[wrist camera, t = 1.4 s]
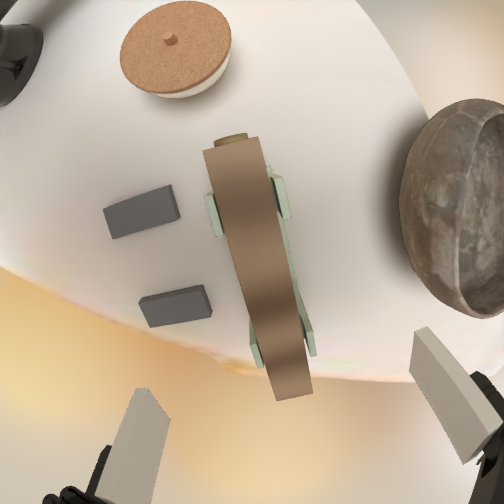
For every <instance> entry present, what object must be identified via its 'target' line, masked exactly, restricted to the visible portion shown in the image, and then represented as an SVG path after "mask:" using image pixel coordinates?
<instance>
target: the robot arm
mask: <svg viewBox="0 0 504 504" xmlns="http://www.w3.org/2000/svg"><path fill="white" fill-rule="evenodd" d="M17 1H18V0H0V21H1V20H2V19H3V18H4V16H5V15H6V14H7V13H8V11H9V10H10V9H11V8H12V7H13V5H14V4H15V3H16V2H17ZM42 42H43V36H42V32H41V30H40V29H39V28H38V27H36V26H33V25H31V24H21V25H1V24H0V106H4V105H6V104H8V103H9V102H11V101H12V100H13V99H14V98H15V97H16V96H17V95H18V94H19V92H20V91H21V90H22V89H23V87H24V86H25V84H26V83H27V81H28V79H29V78H30V76H31V74H32V72H33V70H34V68H35V66H36V63H37V61H38V58H39V55H40V52H41V48H42ZM409 372H410V373H411V375H412V376H413V378H414V379H415V381H416V383H417V384H418V386H419V387H420V389H421V391H422V392H423V394H424V396H425V397H426V399H427V401H428V402H429V404H430V406H431V407H432V409H433V410H434V412H435V414H436V416H437V418H438V419H439V421H440V423H441V424H442V426H443V428H444V430H445V432H446V433H447V435H448V437H449V439H450V440H451V442H452V444H453V446H454V448H455V450H456V452H457V454H458V456H459V458H460V460H461V461H462V463H463V465H464V464H465V463H467V462H469V461H470V460H472V459H473V458H474V457H476V456H477V455H478V454H479V453H480V452H481V451H482V450H483V452H484V454H483V455H482V456H481V458H480V459H479V460H478V462H477V464H476V465H478V464H479V463H480V462H481V461H482V462H481V466H480V470H479V474H478V477H477V480H476V483H475V486H474V489H473V492H472V495H471V498H470V501H469V503H468V504H504V398H503V397H502V395H501V394H500V393H499V392H498V391H497V390H496V388H495V387H494V385H492V383H491V382H490V380H489V379H488V378H487V377H486V376H485V375H483V374H482V373H480V372H478V371H476V372H474V373H473V374H471V375H468V374H467V372H466V371H465V370H464V369H463V367H462V366H461V365H460V364H459V362H458V361H457V360H456V359H455V358H454V356H453V355H452V354H451V353H450V352H449V351H448V349H447V348H446V347H445V346H444V345H443V344H442V342H441V341H440V340H439V339H438V338H437V337H436V336H435V334H434V333H433V332H432V331H431V330H430V329H429V328H428V327H424V328H422V329H419V330H417V331H414V340H413V348H412V355H411V361H410V368H409ZM169 424H170V418H169V417H168V415H167V414H166V413H165V411H164V410H163V409H162V407H161V406H160V405H159V403H158V402H157V400H156V399H155V397H154V396H153V394H152V393H151V391H150V390H149V389H148V388H136V389H135V392H134V394H133V396H132V398H131V401H130V403H129V406H128V408H127V410H126V413H125V415H124V418H123V420H122V422H121V425H120V427H119V430H118V432H117V435H116V438H115V440H114V443H113V445H112V446H110V445H107V446H106V447H105V448H104V449H103V451H102V452H101V453H100V456H99V459H98V462H97V464H96V466H95V469H94V472H93V474H92V477H91V480H90V482H89V485H88V488H87V490H86V492H85V493H83V492H81V491H80V490H79V489H77V488H76V487H73V486H67V487H65V488H64V489H63V490H62V491H61V492H60V496H59V497H58V496H56V495H55V494H48V495H46V496H45V497H44V499H43V502H42V504H151V500H152V496H153V491H154V487H155V482H156V478H157V473H158V469H159V465H160V461H161V457H162V453H163V448H164V444H165V440H166V437H167V433H168V429H169Z"/></svg>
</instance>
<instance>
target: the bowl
mask: <svg viewBox="0 0 504 504" xmlns="http://www.w3.org/2000/svg"><path fill="white" fill-rule="evenodd" d="M399 210H400V219H401V227H402V231H403V238H404V243H405V247H406V250H407V252H408V255H409V257H410V260H411V266H412V269H413V270H414V271H415V272H416V273H417V274H418V276H419V277H420V279H421V280H422V282H423V283H424V284H425V286H426V287H427V288H428V290H429V291H430V292H431V293H432V294H433V295H434V296H435V297H436V298H437V299H438V300H440V301H441V302H443V303H444V304H446V305H448V306H450V307H452V308H453V309H455V310H457V311H459V312H462V313H464V314H466V315H469V316H471V317H475V318H480V319H486V318H491V317H494V316H496V315H498V314H500V313H502V312H504V105H502V104H500V103H497V102H494V101H490V100H485V99H468V100H462V101H459V102H456V103H454V104H452V105H449V106H447V107H445V108H444V109H442V110H440V111H439V112H438V113H437V114H435V115H434V116H433V117H432V118H431V119H430V120H429V121H428V122H427V123H426V124H425V126H424V127H423V129H422V130H421V132H420V134H419V135H418V137H417V139H416V140H415V142H414V144H413V146H412V148H411V149H410V152H409V154H408V158H407V161H406V164H405V168H404V172H403V176H402V181H401V187H400V195H399Z"/></svg>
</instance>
